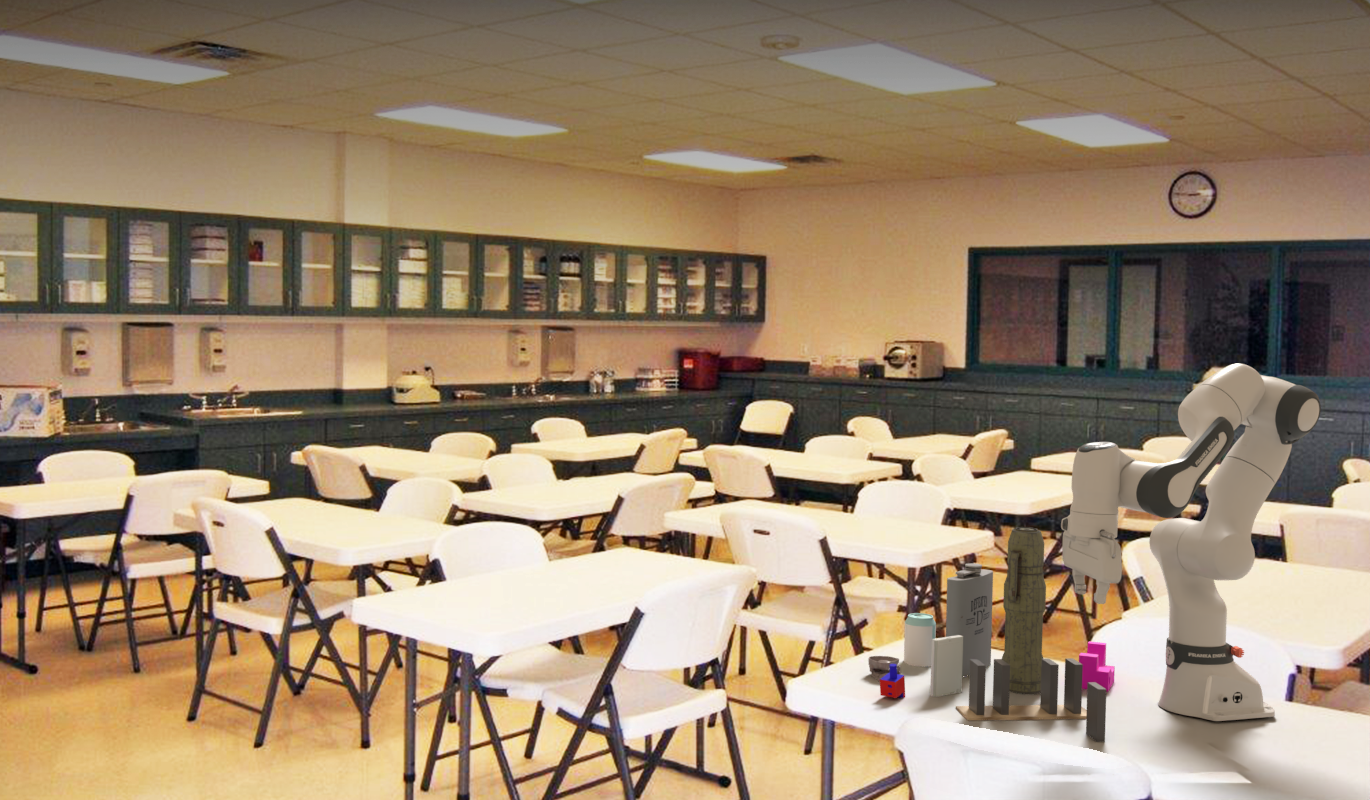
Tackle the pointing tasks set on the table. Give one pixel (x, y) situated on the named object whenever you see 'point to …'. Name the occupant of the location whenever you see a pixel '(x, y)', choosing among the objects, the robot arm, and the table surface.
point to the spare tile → (1096, 711)
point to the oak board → (1021, 713)
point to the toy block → (1096, 666)
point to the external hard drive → (946, 665)
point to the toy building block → (892, 684)
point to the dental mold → (882, 666)
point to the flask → (971, 613)
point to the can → (919, 639)
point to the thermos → (1024, 609)
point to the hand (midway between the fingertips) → (1089, 598)
